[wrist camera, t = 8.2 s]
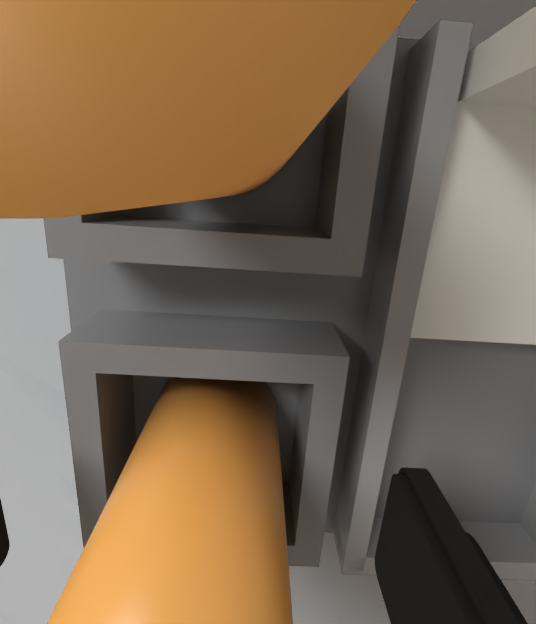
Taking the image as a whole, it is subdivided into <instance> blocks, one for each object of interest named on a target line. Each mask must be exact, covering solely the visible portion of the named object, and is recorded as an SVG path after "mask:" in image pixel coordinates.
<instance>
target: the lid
mask: <svg viewBox="0 0 536 624" xmlns="http://www.w3.org/2000/svg"><path fill="white" fill-rule="evenodd" d="M410 338H425V339H443V340H460V341H478V342H496V343H514V344H532V345H536V6H535V7H533V8H532V9H530V10H529V11H527V12H526V13H524V14H523V15H521V16H520V17H519V18H517V19H516V20H514V21H513V22H511V23H510V24H508V25H507V26H505V27H504V28H502V29H501V30H499V31H498V32H497V33H495V34H494V35H492V36H491V37H489V38H488V39H486V40H485V41H483V42H482V43H480V44H479V45H477V46H476V47H475V48H473V49H472V50H470V51H469V52H468V53H467V58H466V63H465V68H464V73H463V78H462V83H461V88H460V92H459V97H458V102H457V107H456V112H455V117H454V122H453V127H452V132H451V137H450V142H449V147H448V152H447V157H446V162H445V167H444V172H443V177H442V182H441V187H440V192H439V197H438V202H437V207H436V212H435V217H434V222H433V227H432V232H431V237H430V241H429V246H428V251H427V256H426V261H425V266H424V271H423V276H422V281H421V286H420V291H419V296H418V301H417V306H416V311H415V316H414V321H413V326H412V331H411V336H410Z"/></svg>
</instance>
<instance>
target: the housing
mask: <svg viewBox="0 0 536 624" xmlns="http://www.w3.org/2000/svg"><path fill="white" fill-rule="evenodd" d="M416 1H417V0H0V218H44V226H45V235H46V243H47V251H48V258H63V259H64V269H65V278H66V287H67V296H68V305H69V314H70V324H71V332H70V333H69V334H68V335H66V336H65V337H64V338H62V339H61V340H59V349H60V358H61V366H62V374H63V382H64V390H65V399H66V407H67V415H68V423H69V431H70V440H71V448H72V456H73V464H74V472H75V481H76V489H77V497H78V505H79V513H80V522H81V530H82V538H83V546H84V548H85V546H86V544H87V542H88V540H89V538H90V536H91V534H92V532H93V529H94V527H95V525H96V523H97V521H98V519H99V517H100V515H101V513H102V511H103V509H104V507H105V505H106V503H107V501H108V499H109V497H110V495H111V493H112V491H113V489H114V487H115V485H116V483H117V481H118V479H119V477H120V475H121V473H122V471H123V469H124V467H125V465H126V463H127V461H128V459H129V456H130V454H131V452H132V450H133V448H134V446H135V444H136V442H137V440H138V438H139V436H140V434H141V432H142V430H143V428H144V426H145V424H146V422H147V420H148V418H149V416H150V414H151V412H152V410H153V408H154V406H155V404H156V402H157V400H158V398H159V396H160V394H161V392H162V390H163V388H164V386H165V385H166V383H167V382H168V381H169V380H170V379H171V378H172V377H181V378H201V379H220V380H240V381H259V382H265V383H266V384H267V385H268V387H269V389H270V390H271V392H272V394H273V396H274V399H275V402H276V408H277V418H278V432H279V445H280V458H281V472H282V485H283V499H284V512H285V525H286V539H287V552H288V565H289V566H318V567H319V562H320V555H321V548H322V541H323V535H324V532H333V533H334V538H335V542H336V547H337V552H338V557H339V562H340V566H341V571H342V574H355V575H377V574H376V570H375V553H376V548H377V543H378V539H379V534H380V529H381V524H382V520H383V515H384V510H385V505H386V501H387V496H388V491H389V487H390V482H391V477H392V475H393V474H398V473H399V470H400V469H401V468H425V469H427V470H428V471H429V472H430V474H431V475H432V477H433V479H434V480H435V482H436V484H437V485H438V487H439V489H440V490H441V492H442V494H443V495H444V497H445V499H446V500H447V502H448V504H449V505H450V507H451V509H452V510H453V512H454V514H455V515H456V517H457V519H458V520H459V522H460V524H461V525H462V527H463V529H464V530H465V532H467V533H469V534H470V535H471V536H473V537H474V539H475V540H476V541H477V543H478V544H479V545H480V547H481V549H482V550H483V552H484V554H485V555H486V557H487V559H488V560H489V562H490V563H491V565H492V567H493V568H494V570H495V572H496V573H497V575H498V576H499V578H500V579H506V580H536V345H532V344H514V343H496V342H478V341H460V340H443V339H425V338H410V336H411V331H412V326H413V321H414V316H415V311H416V306H417V301H418V296H419V291H420V286H421V281H422V276H423V271H424V266H425V261H426V256H427V251H428V246H429V241H430V237H431V232H432V227H433V222H434V217H435V212H436V207H437V202H438V197H439V192H440V187H441V182H442V177H443V172H444V167H445V162H446V157H447V152H448V147H449V142H450V137H451V132H452V127H453V122H454V117H455V112H456V107H457V102H458V97H459V92H460V88H461V83H462V78H463V73H464V68H465V63H466V58H467V53H468V52H469V51H470V50H472V49H473V48H475V47H476V46H477V45H474V44H469V43H470V38H471V33H472V28H473V23H471V22H459V21H448V20H440V21H439V22H438V23H437V24H436V25H435V26H434V27H433V28H431V29H430V30H429V31H428V32H427V33H426V34H425V35H424V36H423V37H422V38H421V39H420V40H415V39H403V38H397V37H398V30H399V24H400V23H401V21H402V20H403V18H404V17H405V16H406V14H407V13H408V12H409V10H410V9H411V8H412V6H413V5H414V4H415V2H416Z"/></svg>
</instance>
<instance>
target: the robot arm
mask: <svg viewBox="0 0 536 624" xmlns="http://www.w3.org/2000/svg"><path fill="white" fill-rule="evenodd" d="M8 550H9V539H8V534H7V529H6V524H5V519H4V514H3V509H2V505H1V500H0V566H1V565H2V563H3V562H4V560H5V558H6V556H7V554H8ZM375 570H376V574H377V578H378V581H379V585H380V588H381V591H382V595H383V598H384V601H385V605H386V608H387V611H388V615H389V618H390V621H391V624H527V622H526V620H525V619H524V617H523V615H522V614H521V612H520V611H519V609H518V607H517V606H516V604H515V602H514V601H513V599H512V598H511V596H510V594H509V593H508V591H507V589H506V588H505V586H504V585H503V583H502V581H501V580H500V578H499V576H498V575H497V573H496V572H495V570H494V568H493V567H492V565H491V563H490V562H489V560H488V559H487V557H486V555H485V554H484V552H483V550H482V549H481V547H480V545H479V544H478V543H477V541H476V540H475V539H474V537H473V536H471V535H470V534H469V533H467V532H465V530H464V529H463V527H462V525H461V524H460V522H459V520H458V519H457V517H456V515H455V514H454V512H453V510H452V509H451V507H450V505H449V504H448V502H447V500H446V499H445V497H444V495H443V494H442V492H441V490H440V489H439V487H438V485H437V484H436V482H435V480H434V479H433V477H432V475H431V474H430V472H429V471H428V470H427V469H425V468H401V469H400V470H399V473H398V474H393V475H392V477H391V482H390V487H389V491H388V496H387V501H386V505H385V510H384V515H383V520H382V524H381V529H380V534H379V539H378V543H377V548H376V553H375Z"/></svg>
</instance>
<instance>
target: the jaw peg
mask: <svg viewBox="0 0 536 624" xmlns="http://www.w3.org/2000/svg"><path fill="white" fill-rule="evenodd" d="M47 624H293V619H292V606H291V592H290V579H289V566H288V552H287V539H286V525H285V512H284V499H283V485H282V472H281V458H280V445H279V432H278V418H277V408H276V402H275V399H274V396H273V394H272V392H271V390H270V389H269V387H268V385H267V384H266V383H265V382H259V381H240V380H220V379H201V378H181V377H172V378H171V379H170V380H169V381H168V382H167V383H166V385H165V386H164V388H163V390H162V392H161V394H160V396H159V398H158V400H157V402H156V404H155V406H154V408H153V410H152V412H151V414H150V416H149V418H148V420H147V422H146V424H145V426H144V428H143V430H142V432H141V434H140V436H139V438H138V440H137V442H136V444H135V446H134V448H133V450H132V452H131V454H130V456H129V459H128V461H127V463H126V465H125V467H124V469H123V471H122V473H121V475H120V477H119V479H118V481H117V483H116V485H115V487H114V489H113V491H112V493H111V495H110V497H109V499H108V501H107V503H106V505H105V507H104V509H103V511H102V513H101V515H100V517H99V519H98V521H97V523H96V525H95V527H94V529H93V532H92V534H91V536H90V538H89V540H88V542H87V544H86V546H85V548H84V550H83V552H82V554H81V556H80V558H79V560H78V562H77V564H76V566H75V568H74V570H73V572H72V574H71V576H70V578H69V580H68V582H67V584H66V586H65V588H64V590H63V592H62V594H61V596H60V598H59V600H58V602H57V604H56V607H55V609H54V611H53V613H52V615H51V617H50V619H49V621H48V623H47Z"/></svg>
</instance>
